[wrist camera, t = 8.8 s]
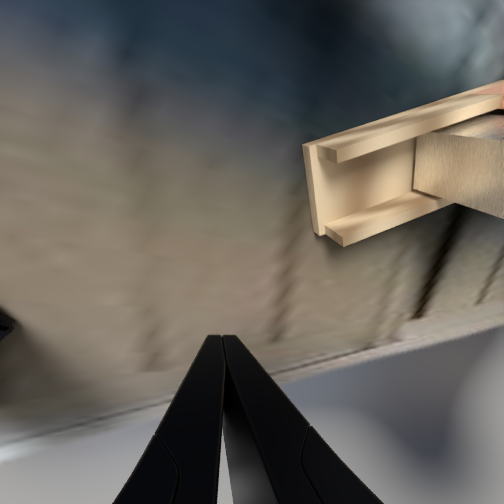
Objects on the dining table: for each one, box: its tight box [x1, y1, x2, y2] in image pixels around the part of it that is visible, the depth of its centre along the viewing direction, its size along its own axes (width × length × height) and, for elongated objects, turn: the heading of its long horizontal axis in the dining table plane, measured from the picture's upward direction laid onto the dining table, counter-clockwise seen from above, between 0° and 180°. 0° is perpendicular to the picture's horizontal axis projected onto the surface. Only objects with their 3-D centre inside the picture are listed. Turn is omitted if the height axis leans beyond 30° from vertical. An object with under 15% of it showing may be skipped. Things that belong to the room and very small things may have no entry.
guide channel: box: [302, 79, 504, 247], centre depth 22 cm, size 19×7×3 cm, turn 104°
